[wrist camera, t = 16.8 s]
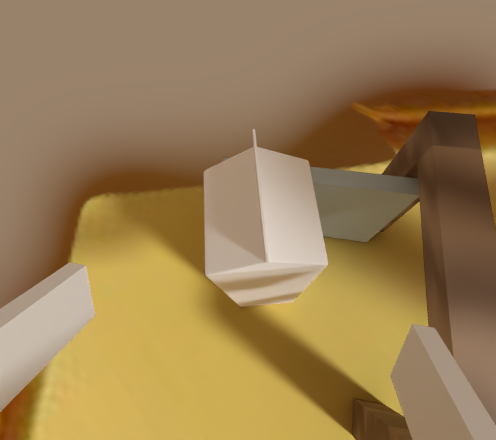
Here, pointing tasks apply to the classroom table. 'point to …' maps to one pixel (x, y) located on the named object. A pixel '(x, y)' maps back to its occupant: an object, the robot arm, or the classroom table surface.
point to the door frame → (449, 258)
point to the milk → (262, 227)
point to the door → (359, 201)
